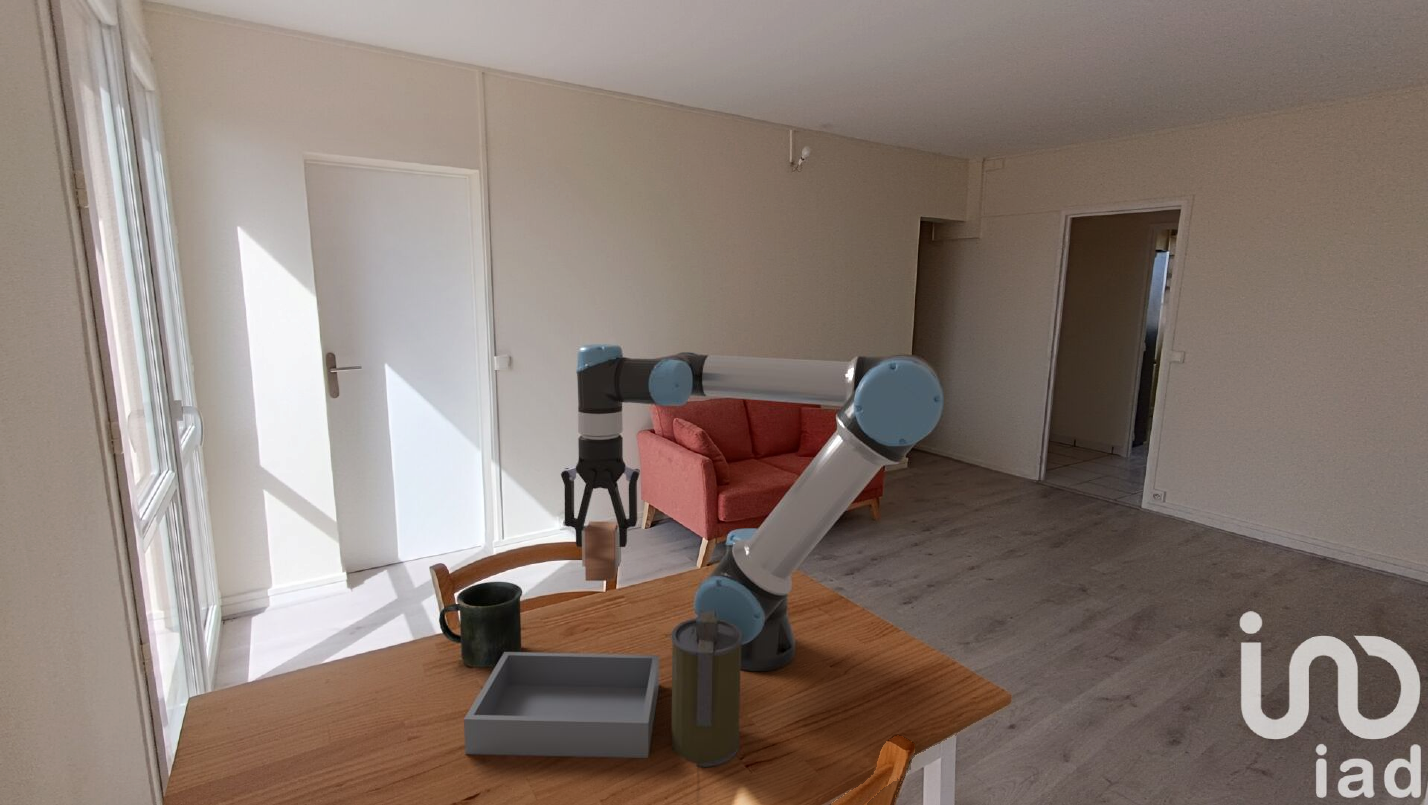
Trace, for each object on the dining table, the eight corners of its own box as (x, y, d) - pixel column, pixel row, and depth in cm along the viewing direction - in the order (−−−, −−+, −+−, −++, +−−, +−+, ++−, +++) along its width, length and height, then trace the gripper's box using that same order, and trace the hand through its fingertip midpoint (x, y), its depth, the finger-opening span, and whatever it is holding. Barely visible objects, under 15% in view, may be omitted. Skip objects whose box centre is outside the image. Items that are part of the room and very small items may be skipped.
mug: (517, 671, 116) (515, 606, 114) (431, 673, 115) (428, 608, 113) (528, 639, 127) (527, 580, 125) (450, 641, 125) (447, 582, 123)
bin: (658, 688, 112) (659, 655, 111) (647, 761, 94) (648, 723, 93) (505, 684, 112) (504, 651, 111) (465, 757, 94) (463, 719, 93)
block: (617, 569, 120) (617, 521, 118) (614, 580, 115) (614, 531, 113) (590, 569, 120) (589, 521, 118) (585, 580, 115) (584, 531, 113)
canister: (673, 719, 103) (674, 599, 100) (739, 722, 103) (743, 602, 100) (665, 768, 93) (667, 635, 90) (740, 771, 92) (744, 638, 89)
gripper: (654, 431, 117) (654, 555, 121) (552, 430, 117) (555, 555, 120) (651, 439, 110) (651, 572, 113) (542, 438, 109) (545, 572, 113)
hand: (602, 563), depth 117 cm, fingers closed on block, 5 cm apart
